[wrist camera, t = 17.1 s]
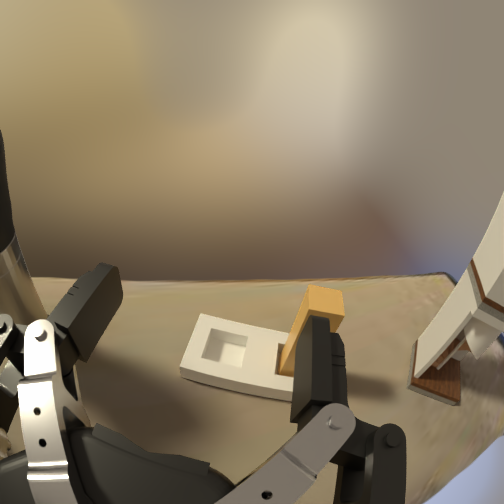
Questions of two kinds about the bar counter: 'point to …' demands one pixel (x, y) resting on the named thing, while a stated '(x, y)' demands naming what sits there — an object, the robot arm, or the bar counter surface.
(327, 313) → the plug
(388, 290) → the bar counter surface
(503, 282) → the white tower
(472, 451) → the bar counter surface
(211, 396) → the bar counter surface
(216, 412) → the bar counter surface
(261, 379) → the white socket board
